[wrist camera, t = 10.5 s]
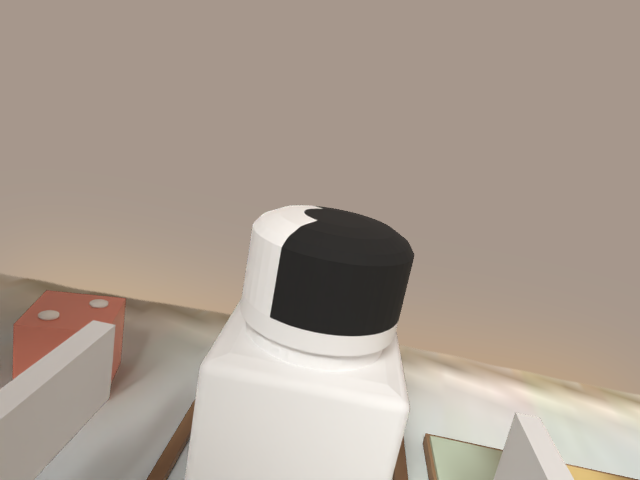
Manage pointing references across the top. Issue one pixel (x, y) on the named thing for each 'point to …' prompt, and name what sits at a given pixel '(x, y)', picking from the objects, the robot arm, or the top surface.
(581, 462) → the top surface
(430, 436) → the track
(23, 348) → the die
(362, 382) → the medicine bottle
